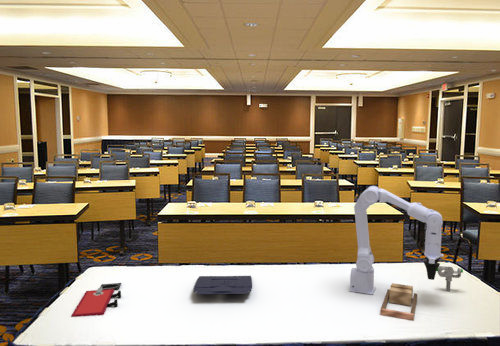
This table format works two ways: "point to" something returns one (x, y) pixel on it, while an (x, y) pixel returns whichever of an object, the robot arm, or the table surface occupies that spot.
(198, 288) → the dark grey flat slab
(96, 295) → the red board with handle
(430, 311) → the table surface
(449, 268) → the mechanical component
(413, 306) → the bay
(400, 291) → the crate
